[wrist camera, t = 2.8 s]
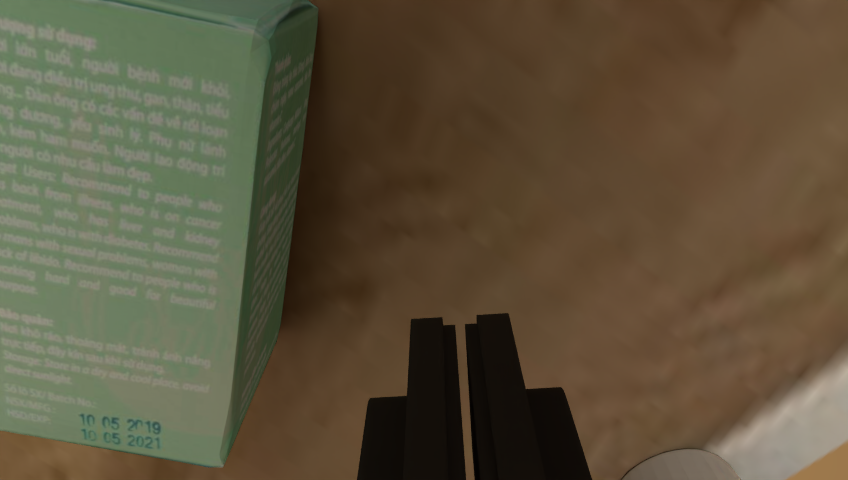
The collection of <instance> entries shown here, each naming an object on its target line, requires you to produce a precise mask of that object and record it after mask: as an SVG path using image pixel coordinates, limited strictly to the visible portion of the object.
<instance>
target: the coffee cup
mask: <svg viewBox="0 0 848 480" xmlns="http://www.w3.org/2000/svg"><path fill="white" fill-rule="evenodd" d="M622 480H741V479H740V478H739V476H738V475H737V474H736V472H735V471H734V470H733V469H732V468H731V466H730V465H729V464H728V463H727V462H726V461H724V460H723V459H721V458H720V457H719V456H717V455H714V454H712V453H710V452H707V451H702V450H698V449H682V450H674V451H670V452H666V453H662V454H659V455H657V456H654V457H652V458H649V459H648V460H646V461H644V462H642V463H640V464H639V465H637V466H636V467H635V468H633V469H632V470H631V471H629V472H628V473H627V475H626V476H625V477H624V478H623V479H622Z"/></svg>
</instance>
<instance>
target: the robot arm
mask: <svg viewBox="0 0 848 480" xmlns="http://www.w3.org/2000/svg"><path fill="white" fill-rule="evenodd" d="M465 333H466V350H467V367H468V384H469V402H470V419H471V436H472V452H473V464H474V476H475V480H592V478H591V475H590V472H589V468H588V465H587V462H586V459H585V456H584V452H583V449H582V446H581V443H580V440H579V436H578V433H577V430H576V427H575V424H574V420H573V417H572V414H571V411H570V408H569V405H568V401H567V398H566V395H565V393H564V390H563V389H562V388H561V387H556V388H538V389H525V384H524V380H523V375H522V371H521V366H520V362H519V358H518V353H517V349H516V344H515V340H514V335H513V331H512V326H511V322H510V318H509V314H508V313H503V314H486V315H477V323H476V324H465ZM357 480H466V473H465V459H464V444H463V430H462V416H461V402H460V388H459V374H458V359H457V345H456V331H455V325H444V326H443V319H442V317H438V318H422V319H411V329H410V349H409V368H408V388H407V396H398V397H380V398H370V399H369V401H368V406H367V412H366V419H365V427H364V434H363V441H362V448H361V455H360V462H359V470H358V477H357Z"/></svg>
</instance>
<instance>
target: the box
mask: <svg viewBox="0 0 848 480" xmlns="http://www.w3.org/2000/svg"><path fill="white" fill-rule="evenodd" d="M317 25H318V7H316V6H315V5H313V4H312V3H310V2H309V1H307V0H0V430H1V431H7V432H12V433H18V434H24V435H29V436H35V437H41V438H47V439H52V440H58V441H64V442H69V443H75V444H81V445H86V446H92V447H98V448H104V449H109V450H115V451H121V452H126V453H132V454H138V455H143V456H149V457H155V458H160V459H166V460H172V461H178V462H183V463H189V464H194V465H199V466H204V467H223V466H224V464H225V462H226V460H227V457H228V455H229V453H230V450H231V448H232V446H233V443H234V441H235V438H236V436H237V434H238V431H239V429H240V426H241V424H242V422H243V419H244V417H245V414H246V412H247V410H248V407H249V405H250V403H251V400H252V398H253V396H254V393H255V391H256V388H257V386H258V384H259V381H260V379H261V377H262V374H263V372H264V370H265V367H266V365H267V362H268V360H269V358H270V355H271V353H272V351H273V348H274V346H275V344H276V342H277V338H278V333H279V329H280V325H281V317H282V309H283V301H284V293H285V285H286V277H287V269H288V262H289V254H290V246H291V238H292V230H293V222H294V214H295V206H296V198H297V190H298V182H299V174H300V166H301V159H302V151H303V142H304V134H305V125H306V116H307V108H308V99H309V91H310V83H311V75H312V67H313V59H314V51H315V42H316V34H317Z"/></svg>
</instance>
